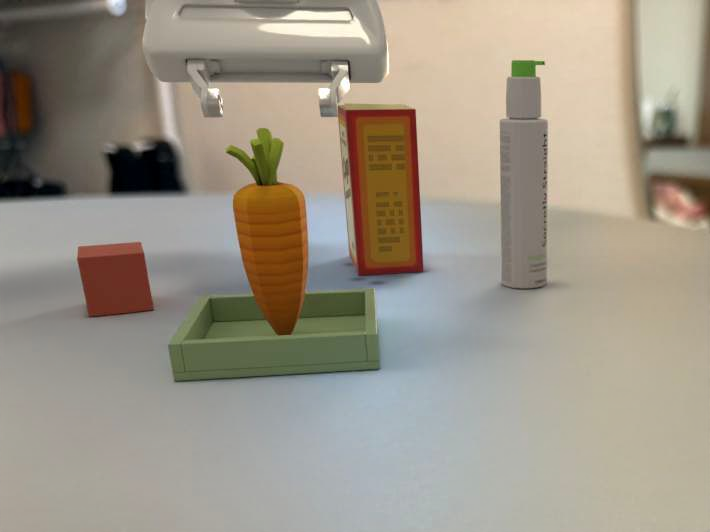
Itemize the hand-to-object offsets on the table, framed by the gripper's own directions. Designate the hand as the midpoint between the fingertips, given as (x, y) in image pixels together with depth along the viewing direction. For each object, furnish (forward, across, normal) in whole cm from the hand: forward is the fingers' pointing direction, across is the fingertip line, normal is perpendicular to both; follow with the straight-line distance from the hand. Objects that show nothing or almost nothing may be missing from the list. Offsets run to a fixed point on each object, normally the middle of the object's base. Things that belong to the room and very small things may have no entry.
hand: (271, 112), depth 71 cm
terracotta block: (+12, -14, +11) cm, 21 cm away
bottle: (+10, +22, +12) cm, 27 cm away
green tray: (+22, +1, +1) cm, 22 cm away
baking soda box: (+3, +9, +20) cm, 22 cm away
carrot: (+21, +1, +1) cm, 21 cm away
